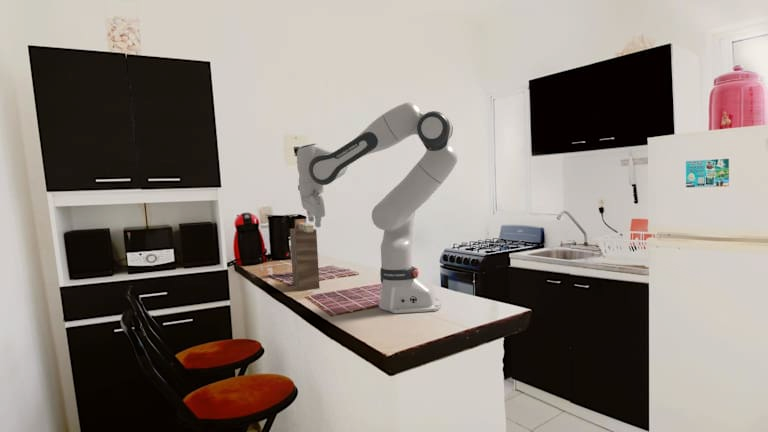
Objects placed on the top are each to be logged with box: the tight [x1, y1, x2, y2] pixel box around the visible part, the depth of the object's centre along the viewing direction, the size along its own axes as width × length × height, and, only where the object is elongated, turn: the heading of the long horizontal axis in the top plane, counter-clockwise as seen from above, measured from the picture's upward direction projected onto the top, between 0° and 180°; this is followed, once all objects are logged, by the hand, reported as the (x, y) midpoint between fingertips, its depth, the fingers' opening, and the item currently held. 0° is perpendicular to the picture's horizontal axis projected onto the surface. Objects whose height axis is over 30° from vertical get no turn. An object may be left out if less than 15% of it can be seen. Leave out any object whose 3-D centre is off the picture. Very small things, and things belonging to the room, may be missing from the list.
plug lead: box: [294, 218, 314, 233], centre depth 183 cm, size 25×4×4 cm, turn 22°
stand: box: [289, 227, 320, 292], centre depth 188 cm, size 16×9×26 cm, turn 22°
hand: (314, 224), depth 158 cm, fingers open, 8 cm apart
